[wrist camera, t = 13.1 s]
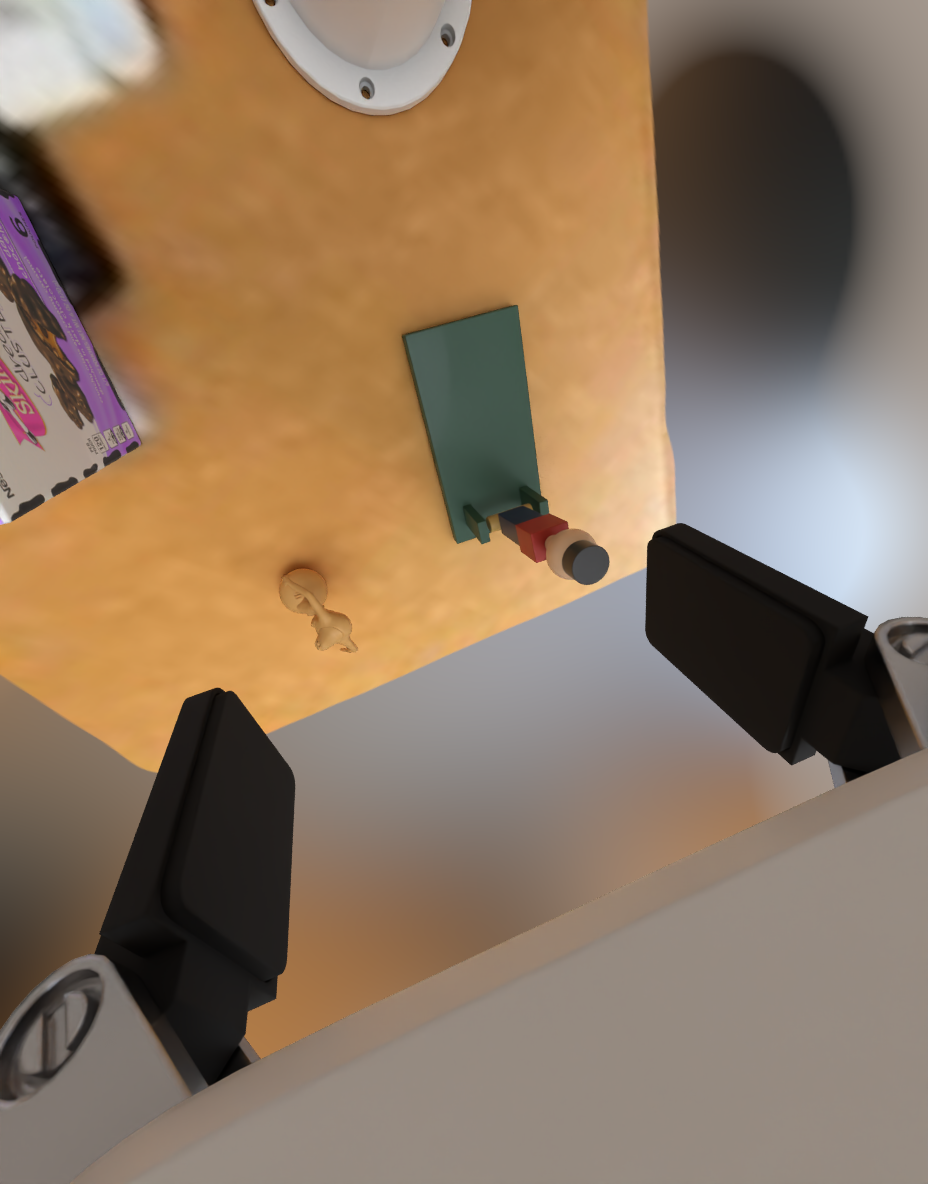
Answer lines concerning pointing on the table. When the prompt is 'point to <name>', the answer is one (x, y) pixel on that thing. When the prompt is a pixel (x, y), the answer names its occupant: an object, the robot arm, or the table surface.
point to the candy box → (47, 379)
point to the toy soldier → (553, 543)
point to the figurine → (316, 608)
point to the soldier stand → (477, 417)
